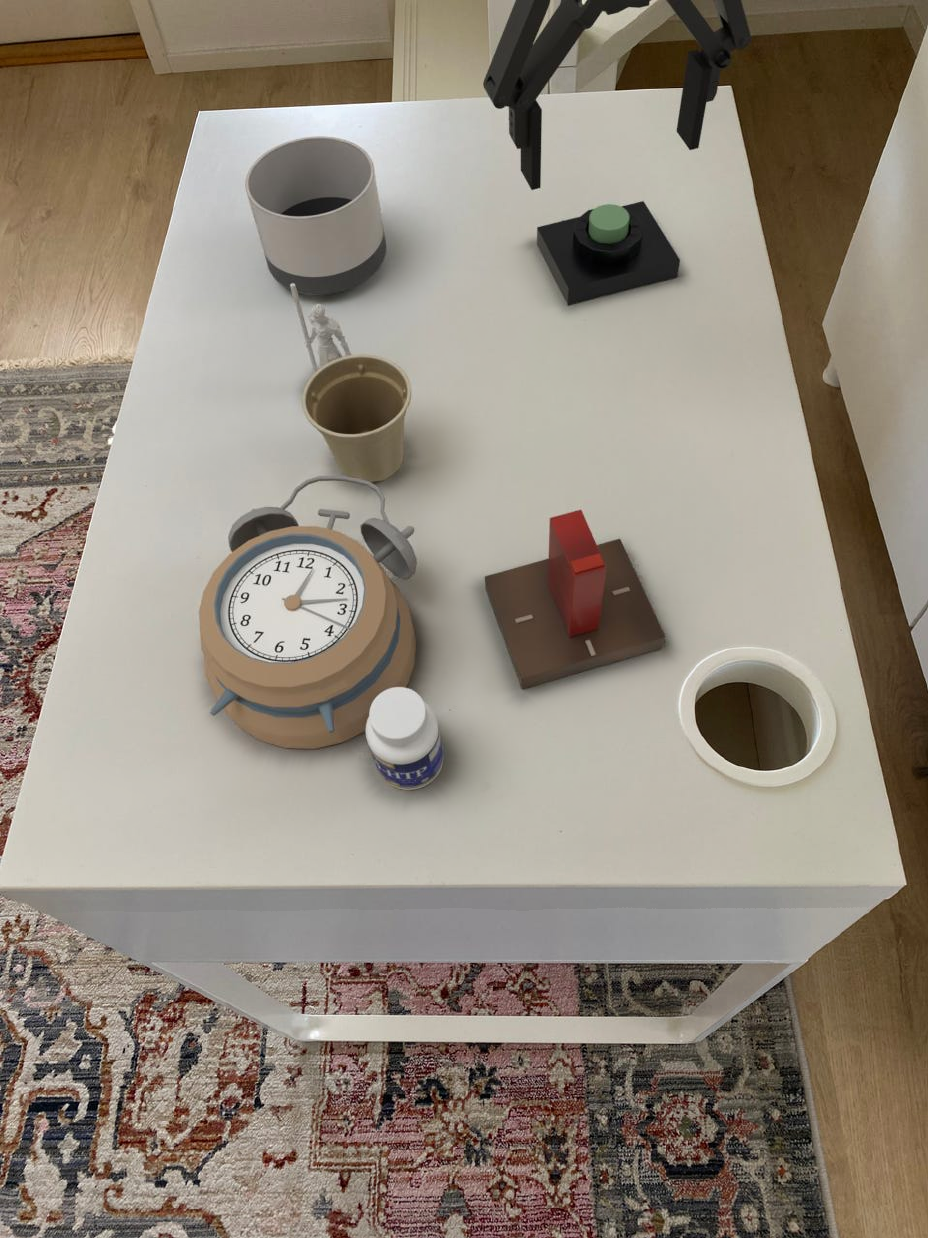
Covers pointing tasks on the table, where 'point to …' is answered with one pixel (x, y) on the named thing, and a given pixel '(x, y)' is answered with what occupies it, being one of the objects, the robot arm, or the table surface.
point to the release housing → (606, 256)
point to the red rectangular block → (575, 572)
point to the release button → (608, 224)
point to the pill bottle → (404, 739)
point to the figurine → (321, 333)
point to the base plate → (541, 630)
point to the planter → (317, 214)
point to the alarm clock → (307, 624)
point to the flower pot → (360, 413)
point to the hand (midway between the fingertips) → (609, 159)
